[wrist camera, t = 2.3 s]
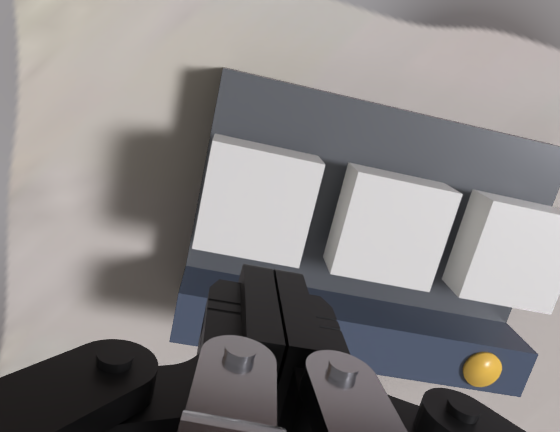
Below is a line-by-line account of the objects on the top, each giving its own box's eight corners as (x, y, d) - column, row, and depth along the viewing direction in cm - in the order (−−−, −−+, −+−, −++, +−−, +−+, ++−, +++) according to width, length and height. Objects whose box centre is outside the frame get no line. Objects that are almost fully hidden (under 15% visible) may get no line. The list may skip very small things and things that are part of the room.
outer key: (318, 155, 22) (325, 164, 20) (294, 251, 23) (298, 268, 21) (215, 133, 21) (212, 140, 19) (195, 232, 23) (191, 248, 21)
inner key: (561, 208, 24) (590, 221, 22) (527, 295, 25) (550, 314, 23) (472, 189, 23) (493, 200, 21) (441, 279, 24) (458, 297, 22)
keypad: (549, 143, 26) (623, 163, 21) (473, 344, 29) (521, 403, 24) (224, 67, 23) (220, 69, 19) (181, 295, 27) (167, 348, 22)
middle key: (444, 182, 23) (462, 194, 21) (414, 274, 24) (429, 292, 22) (348, 162, 22) (358, 171, 20) (323, 256, 23) (330, 274, 22)
